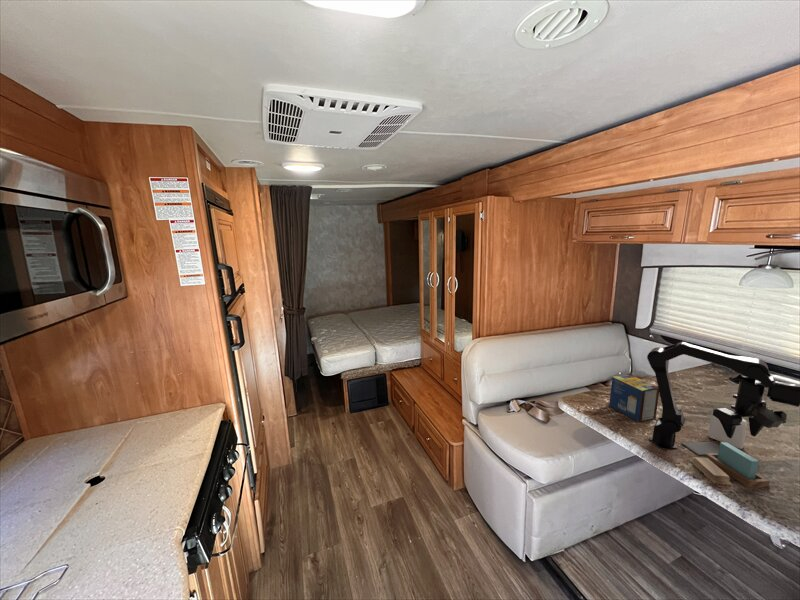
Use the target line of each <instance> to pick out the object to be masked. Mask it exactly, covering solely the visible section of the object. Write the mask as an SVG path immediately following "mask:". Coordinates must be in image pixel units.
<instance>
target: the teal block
mask: <svg viewBox="0 0 800 600" xmlns="http://www.w3.org/2000/svg"><path fill="white" fill-rule="evenodd" d="M719 446H720V447H719V452H718V458H717V459H718V460H720V461H721V462H723V463H724V464H726V465H727V466H729V467H730V468H732V469H734V470H735V471H737V472H738V473H740V474H741V475H743V476H744V477H746V478H747V479H749V480H751V479H755V477H756V473H757V472H758V466H759V461H760V460H758V459H756V458H754V457H752V456H750V455H749V454H747V453H745V452H744V451H742V449H740V448H736V447H734V446H732V445H730V444H729V443H727V442H719Z"/></svg>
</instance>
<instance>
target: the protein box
mask: <svg viewBox="0 0 800 600" xmlns="http://www.w3.org/2000/svg"><path fill="white" fill-rule="evenodd" d="M610 387H611V388H610V392H609V393H610V395H609V402H608V403H609V404H608V406H609V407H611V408H613V409H615V410H617V411H619V412H620V413H622V414H624V415H626V416H627V417H628V418H631V419H632V420H634V421H636V422H644V421H648V420H655V419H656V418H657V412H658V411H657V410H658V405H659V404H658V403H659V398H660V397H659V396H660V393H659V388H658V385H655V384H652V383H650V382H647V381H645V380H643V379H640V378H638V377H636V376H633V375H631V374H622V375H616V376H612V377H611V386H610Z"/></svg>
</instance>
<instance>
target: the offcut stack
mask: <svg viewBox="0 0 800 600" xmlns="http://www.w3.org/2000/svg"><path fill="white" fill-rule="evenodd" d="M690 463H692V465H694V466H695V467H696V468H697V469H698V470H699V471H700V472H701V471H702V472H703V473H704V474H703V473H702V472H701V473H702V474H703V475H704V476H705V477H707V478H708V480H710V481H711V482H712V483H713V484H715V483H717V484H718V485H725V484H727V486H732V482H730V480H731V479H730V475H729V474H727V473H726V472H725V471H723V470H722V469H720V468H719V467H718V466H716V465H715V464H714V463H713V462H712V461H711V460H709V459H708V458H705V457H700V456H693V457H691V459H690Z"/></svg>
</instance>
